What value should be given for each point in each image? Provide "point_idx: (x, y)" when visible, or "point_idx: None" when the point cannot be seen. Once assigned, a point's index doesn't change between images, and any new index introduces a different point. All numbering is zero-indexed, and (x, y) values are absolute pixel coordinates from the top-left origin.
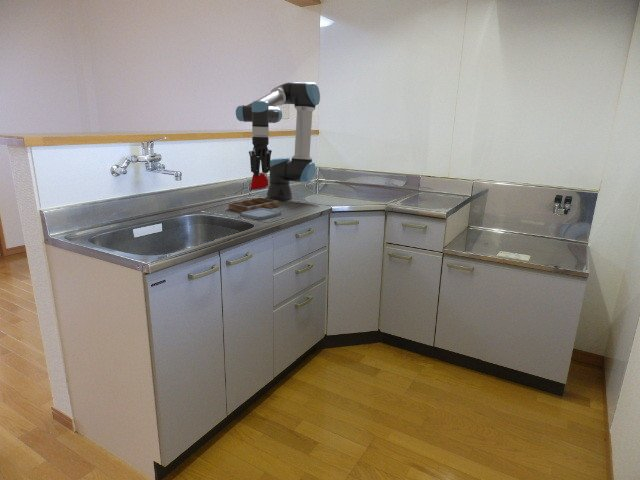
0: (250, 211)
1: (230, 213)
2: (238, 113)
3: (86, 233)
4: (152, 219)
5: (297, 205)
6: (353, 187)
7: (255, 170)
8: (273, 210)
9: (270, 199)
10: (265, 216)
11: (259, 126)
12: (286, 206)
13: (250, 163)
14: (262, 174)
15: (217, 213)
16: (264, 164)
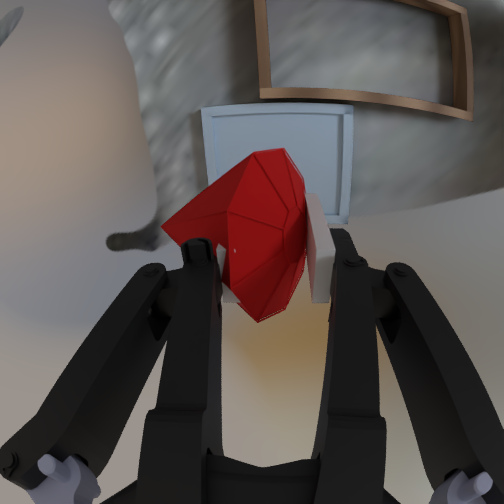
0: (261, 112)
1: (202, 46)
2: None
3: None
4: (8, 23)
5: (501, 173)
6: None
7: (159, 323)
8: (347, 184)
9: (471, 73)
10: None
11: None
12: (473, 146)
13: (90, 332)
14: (250, 313)
15: (162, 18)
16: (326, 370)
